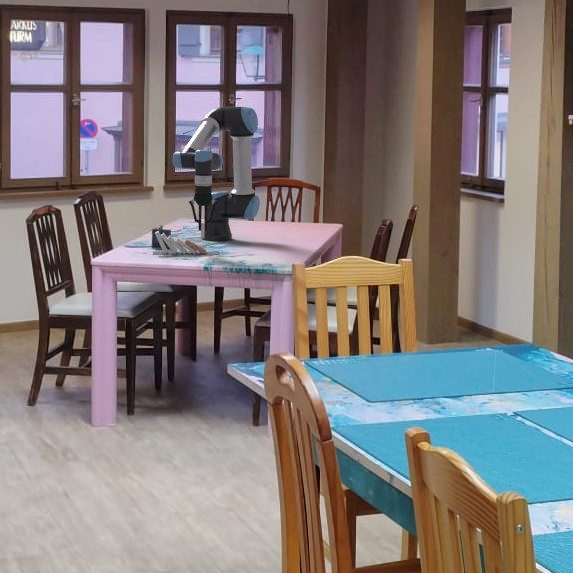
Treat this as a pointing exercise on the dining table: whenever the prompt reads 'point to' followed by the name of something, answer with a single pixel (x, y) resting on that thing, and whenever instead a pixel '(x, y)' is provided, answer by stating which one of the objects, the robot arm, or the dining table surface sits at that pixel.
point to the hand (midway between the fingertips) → (202, 237)
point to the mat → (188, 253)
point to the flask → (166, 231)
